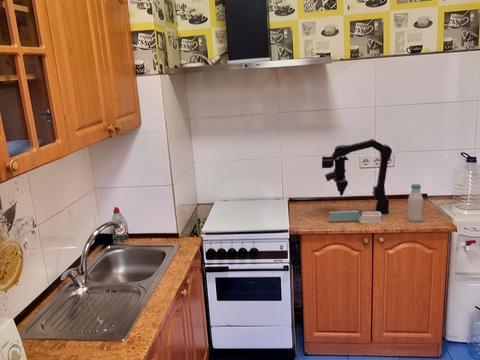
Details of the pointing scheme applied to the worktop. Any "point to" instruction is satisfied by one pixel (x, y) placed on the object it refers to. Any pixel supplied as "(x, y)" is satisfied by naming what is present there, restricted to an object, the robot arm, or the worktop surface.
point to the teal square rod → (344, 215)
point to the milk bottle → (415, 204)
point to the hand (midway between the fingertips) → (340, 193)
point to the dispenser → (370, 217)
